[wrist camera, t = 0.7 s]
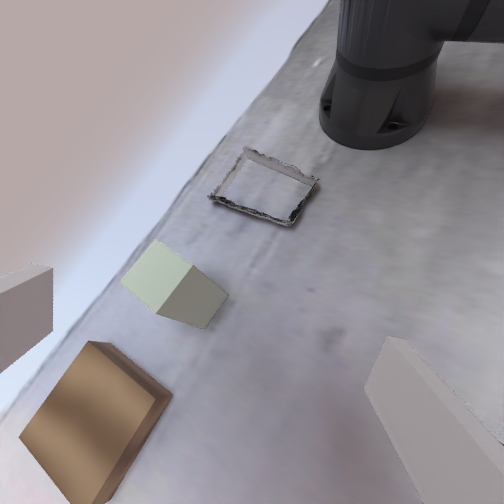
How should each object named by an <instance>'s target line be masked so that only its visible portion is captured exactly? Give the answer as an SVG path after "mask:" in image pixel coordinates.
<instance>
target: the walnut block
mask: <svg viewBox="0 0 504 504" xmlns="http://www.w3.org/2000/svg"><path fill="white" fill-rule="evenodd" d="M172 396H173V394H171V393H170V392H169V391H168V390H166V389H165V388H164V387H163V386H162V385H160V384H159V383H158V382H157V381H156V380H154V379H153V378H152V377H151V376H149V375H148V374H147V373H146V372H145V371H143V370H142V369H141V368H140V367H138V366H137V365H136V364H135V363H134V362H132V361H131V360H130V359H129V358H128V357H126V356H125V355H124V354H123V353H121V352H120V351H119V350H118V349H117V348H115V347H114V346H113V345H112V344H111V343H105V342H95V341H88V342H87V343H86V344H85V346H84V347H83V348H82V350H81V351H80V353H79V354H78V355H77V357H76V358H75V360H74V361H73V362H72V364H71V365H70V366H69V368H68V369H67V371H66V372H65V373H64V375H63V376H62V378H61V379H60V380H59V382H58V383H57V384H56V386H55V387H54V389H53V390H52V391H51V393H50V394H49V396H48V397H47V398H46V400H45V401H44V403H43V404H42V405H41V407H40V408H39V409H38V411H37V412H36V414H35V415H34V416H33V418H32V419H31V421H30V422H29V423H28V425H27V426H26V427H25V429H24V430H23V432H22V433H21V434H20V436H19V438H20V440H21V441H22V442H23V444H24V445H25V446H26V447H27V449H28V450H29V451H30V453H31V454H32V455H33V456H34V458H35V459H36V460H37V462H38V463H39V464H40V465H41V467H42V468H43V469H44V470H45V472H46V473H47V474H48V476H49V477H50V478H51V479H52V481H53V482H54V483H55V485H56V486H57V487H58V488H59V490H60V491H61V492H62V494H63V495H64V496H65V497H66V499H67V500H68V501H69V502H70V504H105V503H106V502H107V501H109V500H110V499H111V498H112V496H113V494H114V493H115V491H116V489H117V488H118V486H119V484H120V483H121V481H122V479H123V478H124V476H125V474H126V473H127V471H128V469H129V468H130V466H131V464H132V463H133V461H134V459H135V458H136V456H137V454H138V453H139V451H140V449H141V448H142V446H143V444H144V443H145V441H146V439H147V438H148V436H149V434H150V433H151V431H152V429H153V428H154V426H155V424H156V423H157V421H158V419H159V418H160V416H161V414H162V412H163V411H164V409H165V407H166V406H167V404H168V402H169V401H170V399H171V397H172Z"/></svg>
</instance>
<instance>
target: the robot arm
mask: <svg viewBox="0 0 504 504" xmlns="http://www.w3.org/2000/svg"><path fill="white" fill-rule="evenodd" d="M445 41H462V42H481V43H503V44H504V0H341V2H340V14H339V26H338V38H337V50H336V59H335V62H334V64H333V67H332V69H331V72H330V74H329V77H328V80H327V82H326V85H325V87H324V90H323V92H322V95H321V99H320V108H319V120H320V124H321V126H322V128H323V130H324V131H325V132H326V134H327V135H328V136H330V137H331V138H332V139H333V140H335V141H337V142H339V143H341V144H343V145H346V146H349V147H353V148H358V149H381V148H386V147H391V146H394V145H397V144H399V143H402V142H404V141H406V140H407V139H409V138H411V137H412V136H413V135H415V134H416V133H417V132H418V131H419V130H420V129H421V127H422V126H423V124H424V123H425V121H426V119H427V116H428V114H429V112H430V110H431V108H432V105H433V100H434V90H435V78H436V67H437V58H438V56H439V53H440V51H441V49H442V46H443V44H444V42H445ZM52 331H53V268H51V267H47V266H41V265H37V264H32V263H31V264H29V265H26V266H24V267H22V268H19V269H17V270H15V271H12V272H10V273H7V274H5V275H3V276H0V373H1V372H3V371H4V370H5V369H6V368H8V367H9V366H10V365H11V364H13V363H14V362H15V361H16V360H18V359H19V358H20V357H21V356H22V355H24V354H25V353H26V352H27V351H29V350H30V349H31V348H32V347H34V346H35V345H36V344H37V343H39V342H40V341H41V340H42V339H43V338H45V337H46V336H47V335H48V334H50V333H51V332H52ZM363 389H364V391H365V393H366V395H367V397H368V399H369V400H370V402H371V404H372V406H373V408H374V410H375V412H376V414H377V416H378V418H379V420H380V421H381V423H382V425H383V427H384V429H385V431H386V433H387V435H388V437H389V439H390V441H391V442H392V444H393V446H394V448H395V450H396V452H397V454H398V456H399V458H400V460H401V462H402V463H403V465H404V467H405V469H406V471H407V473H408V475H409V477H410V479H411V481H412V483H413V484H414V486H415V488H416V490H417V492H418V494H419V496H420V498H421V500H422V502H423V504H504V444H502V443H501V442H500V441H499V440H498V439H497V438H496V437H495V436H494V435H493V434H492V433H491V432H490V431H489V430H488V429H487V428H486V426H485V425H484V424H483V423H482V422H481V421H480V420H479V419H478V418H477V417H476V416H475V415H474V414H473V412H472V411H471V410H470V409H469V408H468V407H467V406H466V405H465V404H464V403H463V402H462V401H461V399H460V398H459V397H458V396H457V395H456V394H455V393H454V392H453V391H452V390H451V389H450V388H449V387H448V385H447V384H446V383H445V382H444V381H443V380H442V379H441V378H440V377H439V376H438V375H437V374H436V373H435V371H434V370H433V369H432V368H431V367H430V366H429V365H428V364H427V363H426V362H425V361H424V360H423V358H422V357H421V356H420V355H419V354H418V353H417V352H416V351H415V350H414V349H413V348H412V347H411V346H410V344H409V343H408V342H407V341H406V340H405V339H401V338H396V337H391V336H387V337H386V339H385V341H384V344H383V346H382V348H381V350H380V353H379V355H378V357H377V359H376V361H375V364H374V366H373V368H372V370H371V372H370V375H369V377H368V379H367V381H366V384H365V386H364V388H363Z"/></svg>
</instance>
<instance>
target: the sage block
mask: <svg viewBox="0 0 504 504" xmlns="http://www.w3.org/2000/svg"><path fill="white" fill-rule="evenodd" d="M119 283H120V284H121V285H123V286H124V287H125V288H126V289H127V290H128V291H130V292H131V293H132V294H133V295H134V296H135V297H136V298H138V299H139V300H140V301H141V302H142V303H143V304H145V305H146V306H147V307H148V308H149V309H150V310H152V311H153V312H154V313H155V314H158V315H161V316H164V317H167V318H170V319H173V320H177V321H180V322H183V323H186V324H189V325H192V326H196V327H199V328H202V329H205V328H206V326H207V325H208V323H209V322H210V321H211V319H212V318H213V316H214V315H215V314H216V312H217V311H218V309H219V308H220V307H221V305H222V304H223V302H224V301H225V299H226V298H227V297H228V294H227V293H226V292H225V291H223V290H222V289H221V288H220V287H219V286H217V285H216V284H215V283H214V282H213V281H212V280H210V279H209V278H208V277H207V276H206V275H204V274H203V273H202V272H201V271H200V270H199V269H197V268H196V267H195V266H194V265H192V264H191V263H190V262H188V261H187V260H185V259H184V258H182V257H181V256H179V255H178V254H177V253H175V252H174V251H172V250H171V249H169V248H168V247H166V246H165V245H164V244H162V243H161V242H159V241H158V240H156V239H155V240H154V241H153V242H152V243H151V245H150V246H149V247H148V248H147V249H146V251H145V252H144V253H143V254H142V255H141V257H140V258H139V259H138V260H137V261H136V263H135V264H134V265H133V266H132V267H131V269H130V270H129V271H128V272H127V273H126V275H125V276H124V277H123V278H122V279H121V281H120V282H119Z"/></svg>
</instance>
